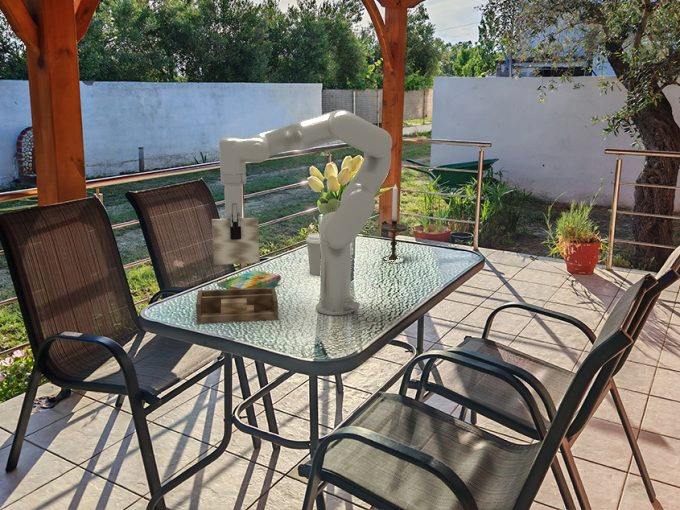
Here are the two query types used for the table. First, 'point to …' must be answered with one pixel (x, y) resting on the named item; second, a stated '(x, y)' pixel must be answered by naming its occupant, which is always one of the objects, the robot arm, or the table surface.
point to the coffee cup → (314, 253)
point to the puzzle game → (251, 280)
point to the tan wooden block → (236, 306)
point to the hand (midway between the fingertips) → (235, 238)
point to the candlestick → (394, 225)
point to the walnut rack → (259, 297)
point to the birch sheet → (235, 242)
